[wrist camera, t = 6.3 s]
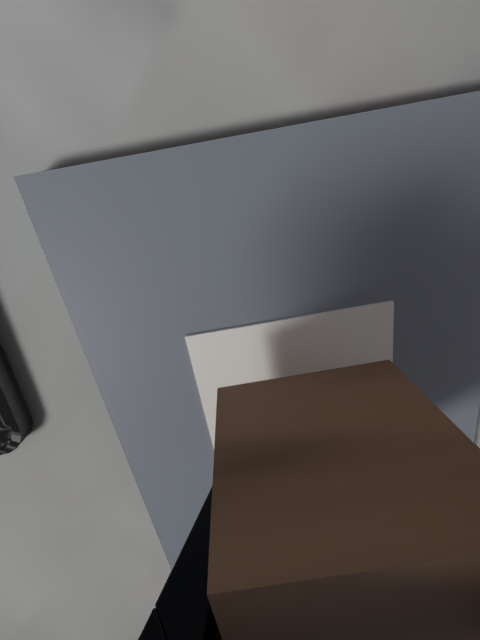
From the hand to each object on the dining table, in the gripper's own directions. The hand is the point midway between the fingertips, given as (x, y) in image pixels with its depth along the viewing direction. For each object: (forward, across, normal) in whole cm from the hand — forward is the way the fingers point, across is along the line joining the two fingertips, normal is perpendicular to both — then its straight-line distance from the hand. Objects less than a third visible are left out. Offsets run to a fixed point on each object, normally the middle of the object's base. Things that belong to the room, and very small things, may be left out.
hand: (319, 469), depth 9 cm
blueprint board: (+4, 0, 0) cm, 4 cm away
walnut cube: (+1, 0, 0) cm, 1 cm away
